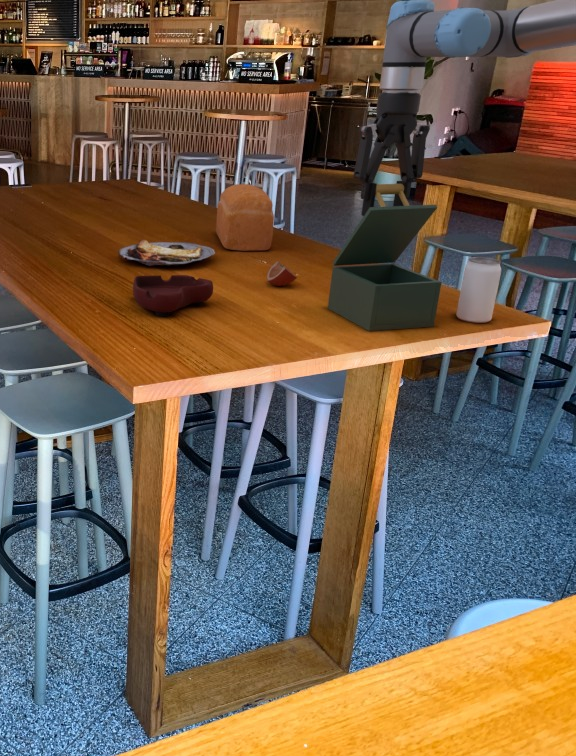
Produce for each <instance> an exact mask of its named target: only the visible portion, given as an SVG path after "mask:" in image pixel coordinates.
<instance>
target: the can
mask: <svg viewBox="0 0 576 756" xmlns="http://www.w3.org/2000/svg"><path fill="white" fill-rule="evenodd" d="M501 274H502V266H501V260H499V259H496V258H492V257H485V256H482V257H481V256H475V257H469V258H468V262H467V264H465V267H464V271H463V275H462V280H461V286H460V290H459V291H460V292H459V298H458V302H457V308H456V314H455V316H456V318H457V319H458V320H460V321H463V322H467V323H473V324H487V323H489V322H490V321H491V320H492V318H493V314H494V309H495V304H496V299H497V295H498V290H499V285H500V280H501Z"/></svg>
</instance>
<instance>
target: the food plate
mask: <svg viewBox="0 0 576 756" xmlns="http://www.w3.org/2000/svg"><path fill="white" fill-rule="evenodd" d="M117 252H118V256H120V257H121V259H122V258H123V259H125V258H126V259H127V260H129V261H130V260H132V261H136V262H138V263H141V264H143V265H144V266H145V265H146V266H148V267H151V266H152V267H154V266H168V267H169V266H183V265H188V264H192V263H195V262H198V261H203V260H204V259H208V258H209V257H211V256H214V255H215V254H216V252H215V249H213V248H211V247H209V246H206V245H201V244H197V243H193V242H183V241H182V242H181V241H180V242H179V241H178V242H176V241H175V242H174V241H172V242H171V241H170V242H167V241H159V242H158V241H156V242H155V241H154V242H148V240H146V239H140V240H139V241H138V243H137V244H131V245H127V246H124V247H122V248H120V249H118V251H117Z"/></svg>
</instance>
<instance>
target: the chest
mask: <svg viewBox="0 0 576 756" xmlns="http://www.w3.org/2000/svg"><path fill="white" fill-rule="evenodd" d="M331 270H332V271H331V277H330V284H329V285H330V287H329V294H328V301H327V309H328V310H329V311H332V312H334V313H335V314H337V315H338V316H340V317H343V318H344V319H346V320H347V321H350V322H351V323H353V324H355V325H356V326H359V327H361V328H362V329H364V330H366V331H368V332H377V331H378V332H379V331H393V330H406V329H420V328H433V327H435V321H436V316H437V310H438V304H439V300H440V293H441V288H442V283H443V282H442V281H440V280H437V279H435V278H432V277H431V276H427V275H424V274H422V273H420V272H417V271H414V270H411V269H409V268H406V267H404V266H402V265H399V264H396V263H395V262H394V263H377V264H358V265H339V266H332V269H331Z"/></svg>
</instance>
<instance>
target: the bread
mask: <svg viewBox="0 0 576 756" xmlns="http://www.w3.org/2000/svg"><path fill="white" fill-rule="evenodd" d="M273 204H274V203H273V201H272V200H271V198H270V197H269V195H268V193H266V191H265V190H263V189H262V188H260V187H258V186H255V185H252V184H249V183H240V184H238V183H236V184H232V185H230V186H228V187H226V188H225V189H224V190H223V191H222V192H221V193H220V196H219V201H218V203H217V210H216V224H215V232H216V235H217V237H218V238H219V241H220V243H221V245H222V247H223V248H224V249H227V250H231V251H241V252H242V251H243V252H249V251H250V252H252V251H253V252H256V251H260V252H261V251H268V250H270V248H271V247H272V242H273V235H274V223H275V222H274V221H275V214H274V210H273V206H274V205H273Z"/></svg>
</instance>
